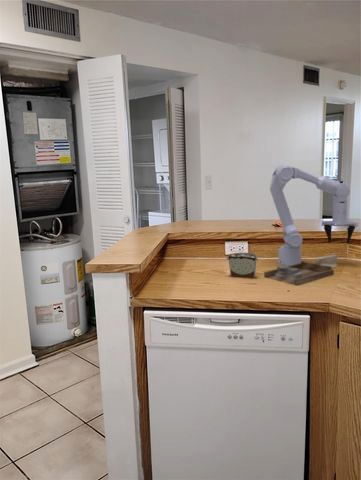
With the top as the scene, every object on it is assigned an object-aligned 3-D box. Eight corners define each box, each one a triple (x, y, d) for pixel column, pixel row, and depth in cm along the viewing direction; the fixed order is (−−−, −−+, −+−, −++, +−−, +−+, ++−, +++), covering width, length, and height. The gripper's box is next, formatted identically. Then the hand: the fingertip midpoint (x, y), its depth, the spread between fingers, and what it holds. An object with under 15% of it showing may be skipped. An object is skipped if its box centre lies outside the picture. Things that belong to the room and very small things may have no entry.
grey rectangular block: (315, 272, 171) (315, 258, 170) (332, 267, 177) (332, 254, 176) (320, 273, 169) (320, 259, 168) (337, 268, 175) (337, 255, 174)
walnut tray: (264, 279, 163) (264, 269, 162) (300, 269, 175) (300, 260, 175) (296, 288, 150) (297, 277, 149) (333, 276, 162) (333, 267, 162)
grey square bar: (275, 277, 162) (275, 266, 161) (282, 275, 164) (282, 265, 164) (295, 282, 154) (295, 271, 153) (302, 280, 156) (302, 269, 155)
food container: (261, 277, 166) (261, 253, 165) (257, 281, 161) (257, 256, 159) (232, 275, 172) (231, 251, 170) (227, 278, 166) (226, 254, 164)
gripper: (320, 212, 177) (319, 243, 179) (356, 213, 169) (355, 245, 172) (323, 210, 183) (323, 240, 185) (359, 211, 175) (358, 242, 178)
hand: (339, 242), depth 179 cm, fingers open, 7 cm apart
